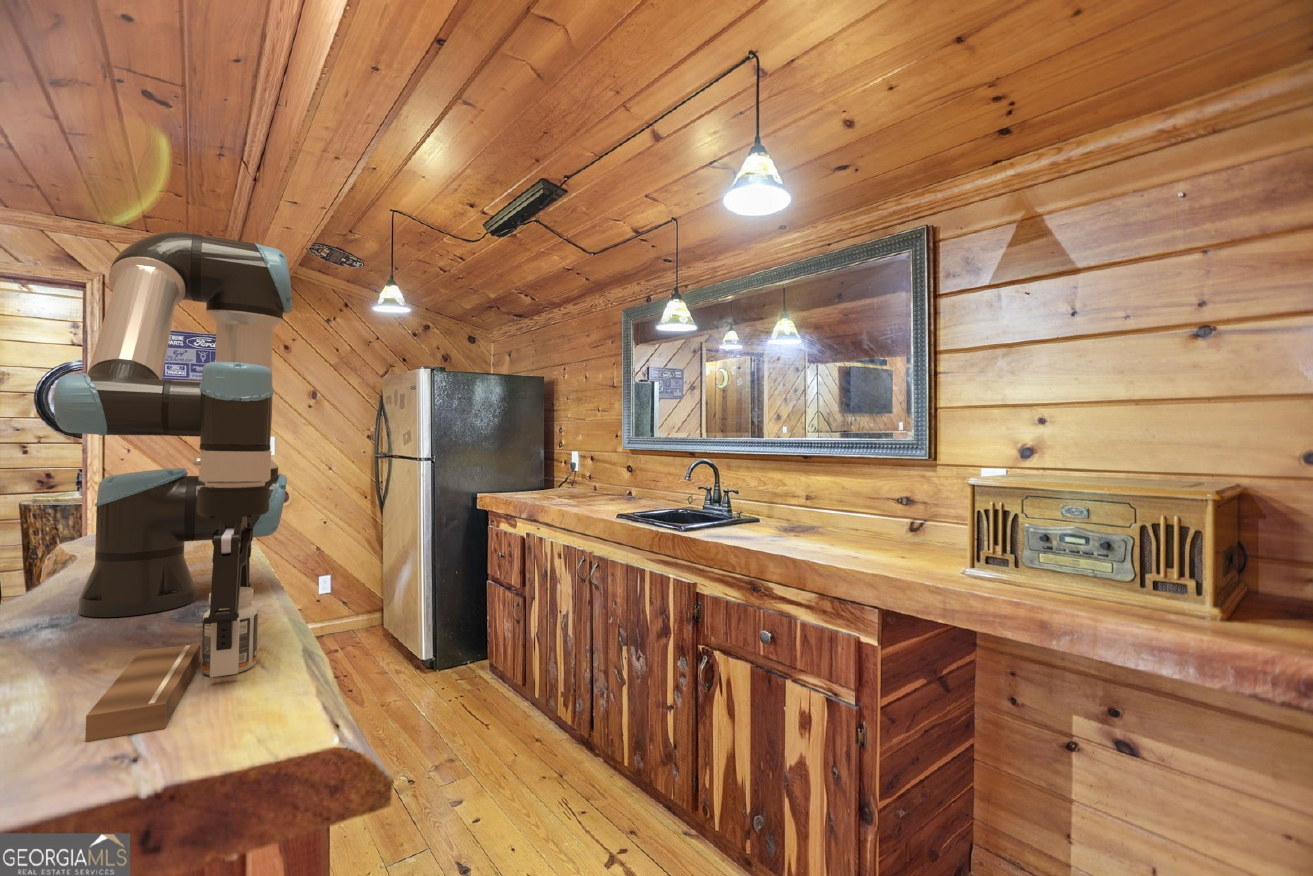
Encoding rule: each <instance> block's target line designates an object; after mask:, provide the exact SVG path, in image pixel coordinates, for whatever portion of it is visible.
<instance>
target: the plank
mask: <svg viewBox="0 0 1313 876" xmlns="http://www.w3.org/2000/svg"><path fill="white" fill-rule="evenodd" d="M201 646H202V643H195V644H186V645H177V646H169V647H159V648H149V649H142V650H140V651H139V652H138V653H137V654H136V656H135V657H134V658H133V659H132V660H131V661H130V663H129V664H128V665H127V666H126V668H125V669H124V670H123V671H122V673H120V675H119V676H118V677H117V678H116V679H115V681H114V682H113V683H112V684H111V686H110V687H109V688H108V689H107V690H106V691H105V693H103V695H102V696H101V697H100V699H99V700H98V701H97V702H96V703H95V704H94V706H93V707H92V708H91V709H90V710H89V712H88V713H87V714H86V715H85V735H84V736H85V737H84V738H85V739H84V740H85V743H86V742H87V743H88V742H91V741H97V740H98V739H99V740H102V739H104V738H105V739H109V738H110V739H111V738H115V737H121V736H127V735H133V734H140V733H146V732H152V731H159V730H164V729H166V728H167V725H168V723H169V721H170V720H171V717H172V716H173V714H174V712H175V710H176V708H177V707H178V704H179V703H180V700H181V699H182V697H183V695H184V693H185V692H186V689H187V688H188V686H189V684H190V682H191V680H192V679H193V676H194V675H195V673H196V670H197V669H198V667H199V666H200V664H201Z"/></svg>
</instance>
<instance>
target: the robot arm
mask: <svg viewBox="0 0 1313 876" xmlns="http://www.w3.org/2000/svg"><path fill="white" fill-rule="evenodd" d="M290 275H291V274H290V269H289V264H288V259H287V257H286V255H285V253H284V252H283V251H281V250H280V249H278V248H275V247H270V246H267V245H266V246H265V245H262V244H258V243H256V242H253V243H252V242H248V241H247V242H246V241H240V240H234V239H230V238H229V239H227V238H223V237H216V236H209V235H203V234H198V233H195V232H194V233H193V232H188V231H167V232H160V233H155V234H152V235H149V236H146V237H144V238H141V239H140V240H137V241H135V242H133V243H131V244H130V245H128V246H127V247H126V248H124V249H123V250H122V251H121V252H120V253H119V254H118V255H117V256H116V257H115V259H114V260H113V261H112V264H111V266H110V269H109V273H108V283H109V286H110V288H111V290H112V293H111V297H110V300H109V303H108V304H107V309H106V312H105V316H104V318H103V321H102V324H101V329H100V331H99V335H98V337H97V339H96V340H97V342H96V344H95V347H94V351H93V354H92V357H91V361H90V362H89V366H88V370H87V372H86V373H83V372H82V373H78V374H76V373H73V374H65V375H62V376H60V377H59V378H58V380H57V382H56V383H55V389H54V393H53V414H54V418H55V422H56V425H57V426H58V427H59V429H60V430H62V432H63V431H64V432H66V433H69V434H70V433H71V434H84V435H99V436H161V437H162V436H168V437H169V436H170V437H199V449H198V450H199V454H198V455H199V456H200V457H195V458H193V460H192V464H193V465H194V466H199V468H198V475H188V473H189V472H188V471H187V469H186V468H185V467H174V468H162V469H152V470H143V471H134V472H126V473H125V472H124V473H118V474H113V475H108V476H106V477H104V478H103V479H101V481H100V482H99V483H98V487H97V495H96V502H95V503H94V506H95V507H96V510H95V511H96V515H95V518H96V519H95V520H96V521H95V547H94V549H95V553H94V554H95V555H94V565H93V567H92V570H91V572H90V574H89V576H88V579H87V581H86V584H85V586H84V588H83V590H82V592H81V595H80V597H79V600H78V614H79V615H81V616H84V617H91V618H118V617H131V616H139V615H146V614H152V613H158V612H163V611H168V610H172V609H176V608H180V607H183V606H186V605H189V604H191V603H193V602H194V601H196V600H195V599H196V585H195V582H194V580H193V577H192V575H191V572H190V570H189V567H188V564H187V562H186V559H185V542H199V541H211V543H212V546H213V549H212V551H213V552H212V561H211V563H212V570H211V571H212V573H211V590H210V593H211V602H210V605H209V607H210V608H209V609H210V614H209V616H208V617H206V618H204V624H209V623H211V657H210V675H209V678H216V677H223V676H224V675H225V676H231V675H238V674H239V673H238V663H239V629H240V618H239V613H238V607H239V594H240V587H250V588H251V583H250V578H251V577H250V575H251V574H250V572H251V571H250V567H251V566H250V562H251V561H250V560H251V559H250V558H251V555H252V542H253V538H260V537H261V538H262V537H269V536H271V535H273V534H275V533H276V531H277V530H278V528H279V526H280V523H281V519H282V515H283V508H284V504H285V498H286V489H287V484H288V478H287V476H286V475H284V474H282V473H279V464H277V463H276V462H275V461H274V460H273V459H272V451H271V446H272V445H271V440H272V439H271V435H272V418H273V395H274V392H275V389H274V387H273V344H274V343H273V339H274V329H276V328H277V327H278V326H279V325H281V324H282V323H283V322H284V320H283V319H284V318H283V317H284V314H290V313H292V311H293V299H292V295H293V294H292V284H291V277H290ZM182 301H191V302H196V303H197V302H198V303H205V304H206V307H205V314H207V316H209V317H210V318H211V320H213V321H214V323H215V326H216V328H215V357H214V359H215V361H211V362H207V363H205V364H204V365H203V367H202V371H201V381H189V380H188V381H187V380H172V379H163V375H164V370H165V364H166V359H167V358H166V357H167V353H168V347H169V342H170V337H171V330H172V324H173V319H174V314H175V313H174V312H175V307H177V306H178V305H179V304H181V303H182ZM255 591H256V590H255V589H254V595H255V593H256V592H255ZM225 608H229V609H228V610H219V609H225Z"/></svg>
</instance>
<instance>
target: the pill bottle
mask: <svg viewBox="0 0 1313 876" xmlns="http://www.w3.org/2000/svg"><path fill="white" fill-rule="evenodd" d="M254 590H255V589H254V588H253V587H251V586H250V587H240V594H239V607H238V613H239V618H240V629H239V663H238V674H239V673H243V672H245V671H247V670H250V669H252V667H253V666H255V664H256V663H257V654H258V650H257V649H258V647H257V646H258V618H259V611H258V607H256V606H255V605H254V604H252V601H253V600H254V598H255V594H254ZM210 602H211V592H210V593H209V594H208V604H209V606H210ZM228 609H229V608H225V609H219V610H228ZM209 614H210V608H209V609H208V610H207V611H206V612H205V613H203V617H202V628H201V629H202V631H201V632H202V633H201V671H202V673H203V674H204V675H207V676H210V657H211V623H209V624H204V618H206V617H208V616H209ZM224 676H226V675H224Z"/></svg>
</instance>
